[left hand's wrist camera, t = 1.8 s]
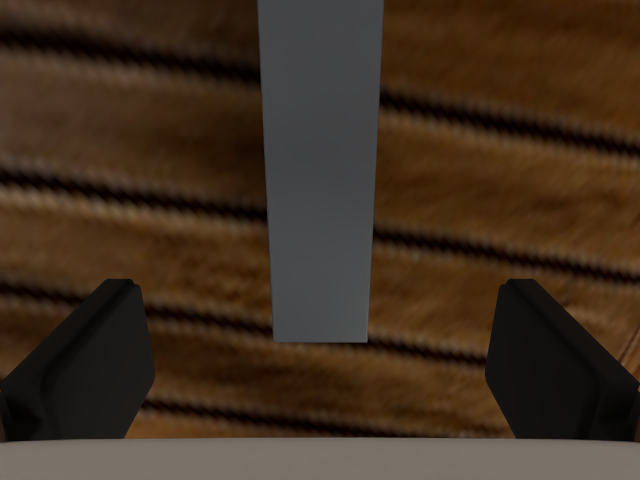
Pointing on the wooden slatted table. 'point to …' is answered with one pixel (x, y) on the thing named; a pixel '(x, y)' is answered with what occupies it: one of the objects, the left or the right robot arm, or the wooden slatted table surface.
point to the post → (320, 162)
